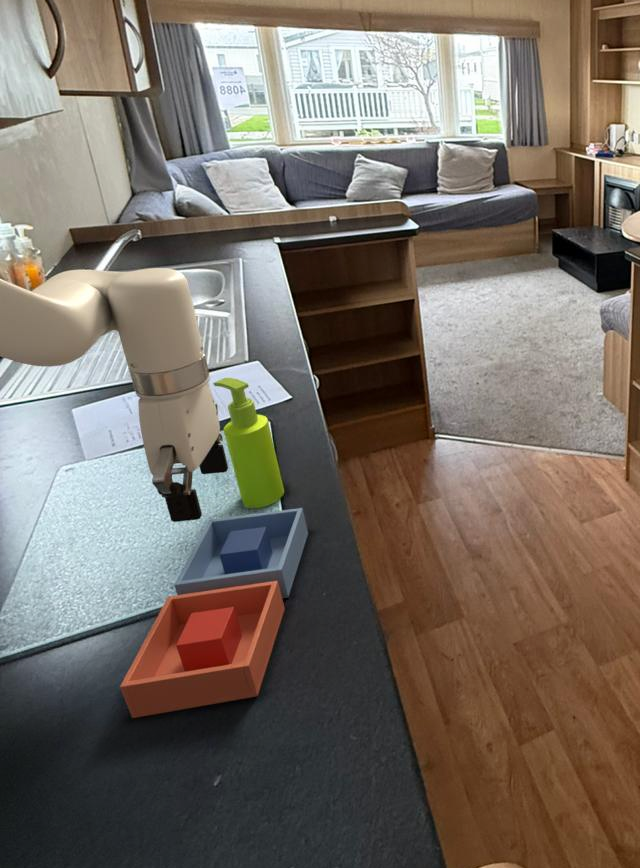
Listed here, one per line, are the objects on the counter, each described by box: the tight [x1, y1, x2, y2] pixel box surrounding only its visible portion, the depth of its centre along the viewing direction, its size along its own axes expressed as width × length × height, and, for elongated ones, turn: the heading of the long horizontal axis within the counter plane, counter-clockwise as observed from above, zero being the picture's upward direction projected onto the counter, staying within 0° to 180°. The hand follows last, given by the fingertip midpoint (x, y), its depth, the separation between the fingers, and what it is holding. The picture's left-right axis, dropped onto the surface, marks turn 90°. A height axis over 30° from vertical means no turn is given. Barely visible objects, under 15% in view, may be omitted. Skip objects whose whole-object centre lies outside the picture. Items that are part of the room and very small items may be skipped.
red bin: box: [119, 581, 286, 719], centre depth 73 cm, size 12×12×5 cm
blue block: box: [219, 527, 273, 575], centre depth 86 cm, size 4×4×4 cm
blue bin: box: [174, 507, 309, 599], centre depth 86 cm, size 12×12×5 cm
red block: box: [176, 607, 242, 672], centre depth 73 cm, size 4×4×4 cm
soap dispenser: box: [212, 377, 285, 509], centre depth 98 cm, size 6×7×20 cm
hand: (201, 494), depth 82 cm, fingers open, 9 cm apart
